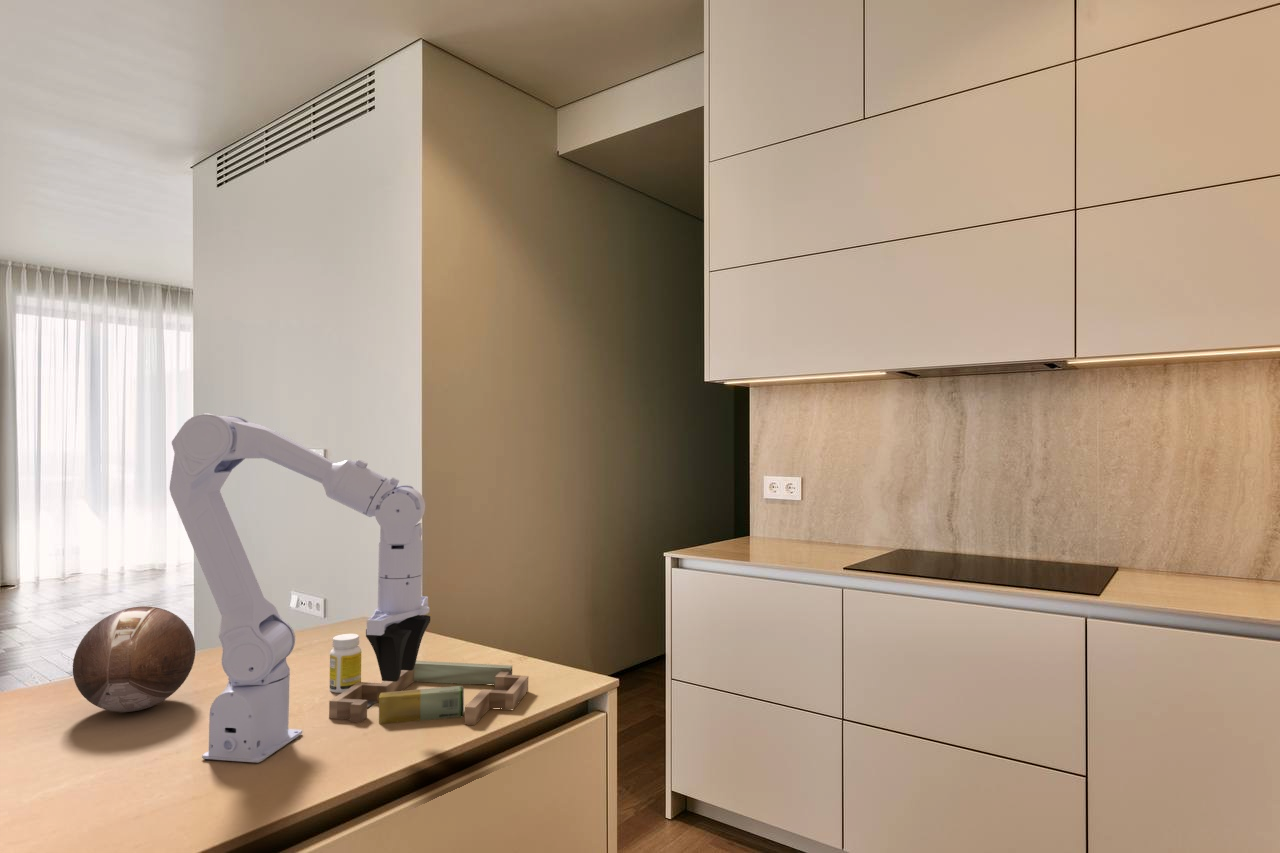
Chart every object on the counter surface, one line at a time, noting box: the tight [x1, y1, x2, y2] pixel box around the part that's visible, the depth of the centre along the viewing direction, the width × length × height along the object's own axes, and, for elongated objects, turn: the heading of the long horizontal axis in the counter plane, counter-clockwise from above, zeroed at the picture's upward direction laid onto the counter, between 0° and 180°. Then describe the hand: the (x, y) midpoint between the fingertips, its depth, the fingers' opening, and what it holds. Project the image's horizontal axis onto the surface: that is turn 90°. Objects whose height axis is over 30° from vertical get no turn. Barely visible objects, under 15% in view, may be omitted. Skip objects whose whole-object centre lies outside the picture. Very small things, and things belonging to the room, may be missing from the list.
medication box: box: [378, 685, 465, 725], centre depth 106 cm, size 12×3×4 cm, turn 106°
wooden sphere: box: [72, 606, 196, 713], centre depth 108 cm, size 15×15×15 cm
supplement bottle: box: [329, 633, 362, 694], centre depth 118 cm, size 5×5×8 cm
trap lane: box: [328, 660, 529, 726], centre depth 112 cm, size 20×25×3 cm
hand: (398, 674), depth 99 cm, fingers open, 4 cm apart
